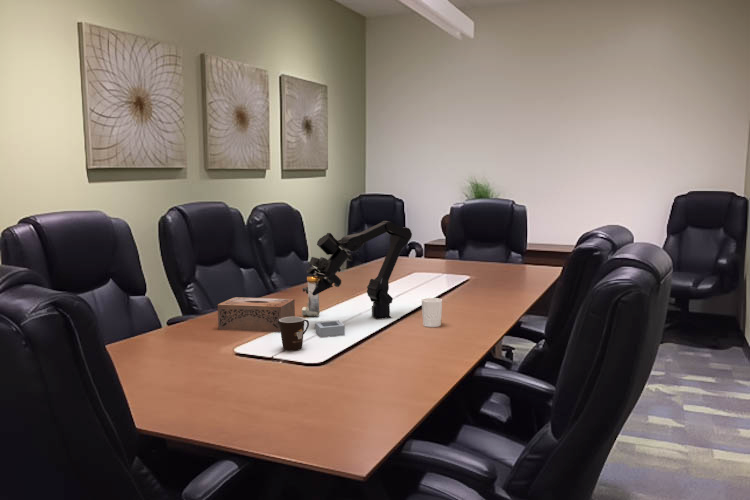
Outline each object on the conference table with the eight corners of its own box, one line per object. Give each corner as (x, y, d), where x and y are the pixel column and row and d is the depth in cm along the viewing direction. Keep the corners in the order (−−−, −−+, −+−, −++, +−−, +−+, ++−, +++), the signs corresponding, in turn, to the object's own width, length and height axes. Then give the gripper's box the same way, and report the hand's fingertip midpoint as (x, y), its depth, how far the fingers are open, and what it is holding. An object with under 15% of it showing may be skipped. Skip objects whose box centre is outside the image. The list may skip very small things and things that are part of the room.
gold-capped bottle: (318, 308, 233) (317, 275, 232) (321, 311, 229) (320, 277, 228) (306, 309, 232) (305, 276, 230) (309, 312, 228) (308, 278, 226)
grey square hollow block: (338, 329, 229) (338, 320, 228) (344, 335, 220) (344, 325, 220) (315, 331, 226) (315, 322, 226) (320, 337, 218) (320, 327, 217)
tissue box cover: (295, 323, 240) (294, 299, 239) (281, 332, 226) (280, 306, 225) (235, 321, 246) (234, 297, 244) (218, 330, 232) (217, 304, 230)
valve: (316, 318, 247) (315, 289, 246) (300, 318, 249) (300, 289, 247) (320, 315, 254) (320, 286, 252) (305, 314, 255) (305, 286, 254)
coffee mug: (284, 353, 198) (283, 323, 197) (276, 347, 206) (275, 318, 204) (317, 348, 203) (316, 319, 202) (308, 342, 211) (307, 314, 210)
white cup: (444, 323, 235) (444, 298, 234) (438, 328, 228) (438, 302, 227) (425, 322, 238) (425, 297, 237) (418, 326, 231) (418, 301, 230)
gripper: (310, 247, 238) (285, 277, 233) (333, 251, 222) (307, 284, 217) (328, 265, 243) (304, 295, 238) (352, 270, 227) (327, 302, 223)
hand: (310, 294), depth 229 cm, fingers closed on gold-capped bottle, 4 cm apart
